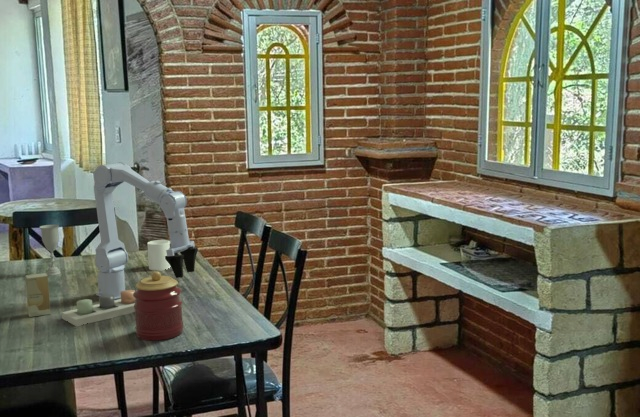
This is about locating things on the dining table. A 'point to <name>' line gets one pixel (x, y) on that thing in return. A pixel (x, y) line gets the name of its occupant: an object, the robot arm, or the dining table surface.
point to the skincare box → (37, 294)
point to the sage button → (84, 306)
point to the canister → (158, 308)
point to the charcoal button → (106, 301)
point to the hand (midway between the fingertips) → (185, 274)
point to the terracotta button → (127, 296)
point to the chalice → (51, 244)
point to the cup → (158, 254)
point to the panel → (98, 313)
